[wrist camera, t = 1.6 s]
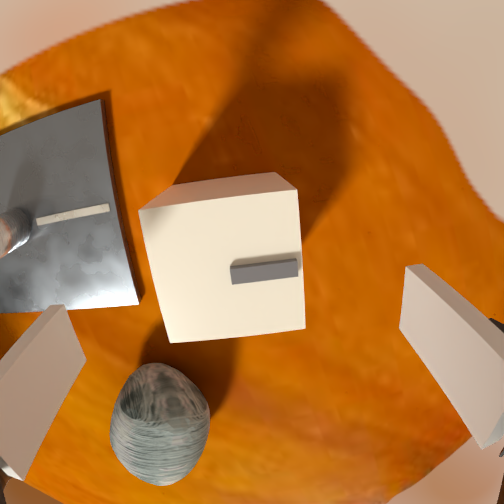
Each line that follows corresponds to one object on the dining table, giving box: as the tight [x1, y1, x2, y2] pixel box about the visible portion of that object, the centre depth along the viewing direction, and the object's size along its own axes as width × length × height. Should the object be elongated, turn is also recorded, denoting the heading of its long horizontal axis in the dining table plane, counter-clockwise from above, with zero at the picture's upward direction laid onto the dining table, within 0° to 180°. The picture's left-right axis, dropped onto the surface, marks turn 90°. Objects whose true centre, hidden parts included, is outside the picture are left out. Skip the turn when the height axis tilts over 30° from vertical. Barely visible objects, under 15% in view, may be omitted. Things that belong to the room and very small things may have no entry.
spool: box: [110, 363, 210, 486], centre depth 26 cm, size 14×10×10 cm
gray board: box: [0, 99, 141, 313], centre depth 20 cm, size 20×16×5 cm
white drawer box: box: [138, 172, 305, 343], centre depth 20 cm, size 7×7×9 cm
